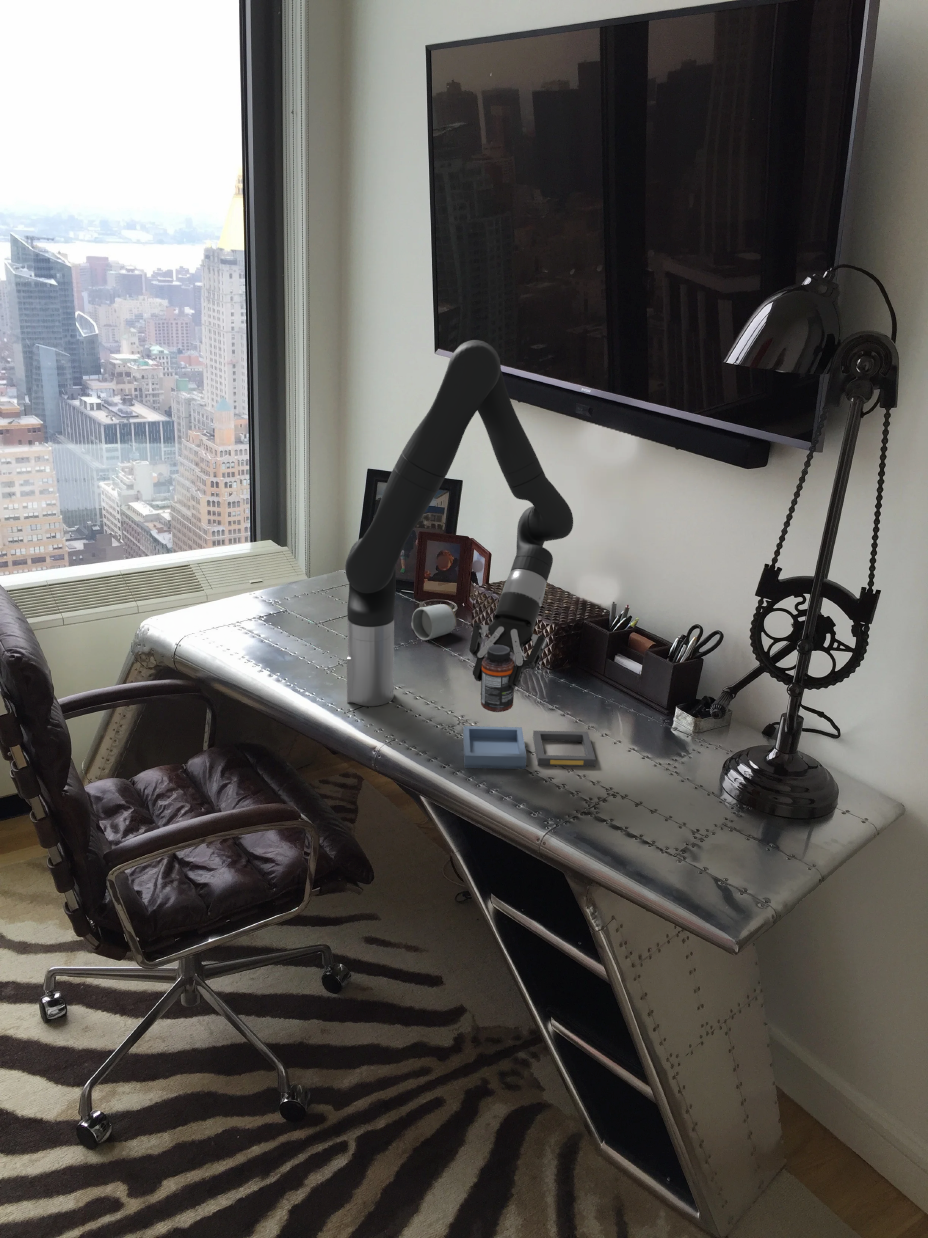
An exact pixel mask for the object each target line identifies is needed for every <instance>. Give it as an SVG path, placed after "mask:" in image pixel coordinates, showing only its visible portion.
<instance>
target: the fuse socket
mask: <svg viewBox="0 0 928 1238" xmlns="http://www.w3.org/2000/svg"><path fill="white" fill-rule="evenodd" d="M532 740H533V747H534V751H535V757H536V764H537V766H542V767H543V766H544V767H545V766H548V767H549V766H552V767H554V766H555V767H591V768H592V767H595V768H596V759H597V758H596V756H595V752H594V749H593V745H592V742H591V738H590V734H589V731H579V730H578V731H573V730H572V731H571V730H566V731H565V730H533V731H532ZM543 742H581V744H582V748H583V751H584V755H569V754H568V755H567V754H566V755H565V754H561V755H559V754H558V755H557V754H545V752H544V751H545V750H544V747H543Z"/></svg>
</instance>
